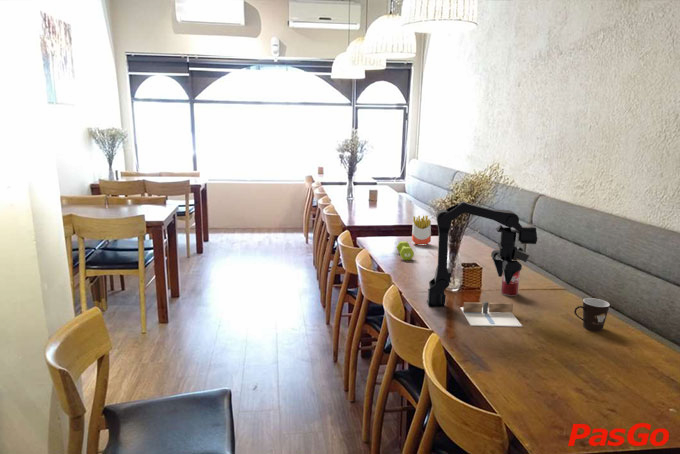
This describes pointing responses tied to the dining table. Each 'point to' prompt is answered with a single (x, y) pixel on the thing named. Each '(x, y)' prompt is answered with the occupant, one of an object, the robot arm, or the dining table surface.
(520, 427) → the dining table surface
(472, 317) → the card
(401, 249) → the dumbbell
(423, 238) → the french fries container
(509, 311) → the fold panel
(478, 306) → the fixed panel
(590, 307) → the coffee mug
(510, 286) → the soda can
